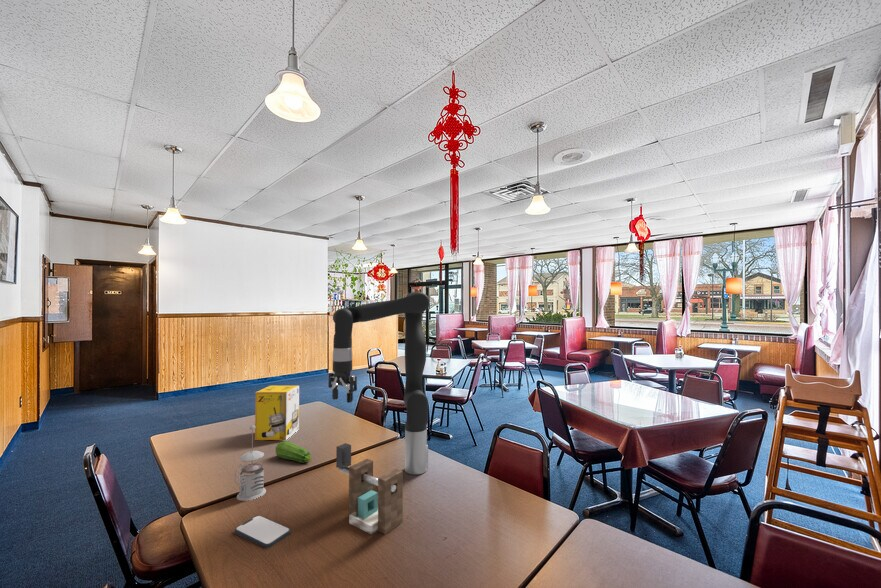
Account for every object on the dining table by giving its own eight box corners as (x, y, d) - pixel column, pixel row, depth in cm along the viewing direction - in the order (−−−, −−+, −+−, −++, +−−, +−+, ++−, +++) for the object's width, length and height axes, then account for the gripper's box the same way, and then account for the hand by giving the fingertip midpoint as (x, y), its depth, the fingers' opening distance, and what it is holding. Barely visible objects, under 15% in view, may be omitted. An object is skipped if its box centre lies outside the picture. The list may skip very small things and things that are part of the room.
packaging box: (286, 441, 187) (286, 392, 187) (254, 441, 187) (255, 392, 188) (298, 430, 203) (299, 385, 204) (270, 430, 203) (270, 385, 204)
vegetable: (282, 436, 170) (313, 444, 161) (287, 447, 173) (318, 455, 164) (269, 448, 164) (301, 457, 155) (275, 459, 167) (307, 469, 158)
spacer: (357, 516, 118) (357, 497, 119) (371, 507, 123) (371, 489, 123) (364, 519, 117) (364, 500, 117) (377, 510, 122) (377, 492, 122)
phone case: (292, 534, 111) (258, 519, 119) (292, 528, 111) (258, 514, 119) (267, 551, 103) (232, 534, 111) (267, 545, 103) (232, 528, 111)
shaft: (336, 472, 127) (336, 446, 127) (345, 468, 130) (345, 443, 130) (389, 494, 112) (389, 465, 112) (398, 489, 115) (398, 460, 115)
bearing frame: (342, 519, 117) (343, 469, 118) (372, 502, 128) (372, 456, 129) (379, 538, 108) (379, 484, 108) (407, 518, 118) (407, 468, 119)
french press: (272, 489, 137) (273, 422, 138) (246, 505, 126) (247, 432, 127) (252, 485, 140) (253, 420, 141) (225, 500, 129) (226, 429, 130)
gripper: (362, 359, 142) (361, 401, 141) (338, 356, 150) (338, 396, 150) (346, 362, 136) (346, 405, 135) (323, 358, 144) (322, 400, 144)
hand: (342, 400), depth 142 cm, fingers open, 8 cm apart
